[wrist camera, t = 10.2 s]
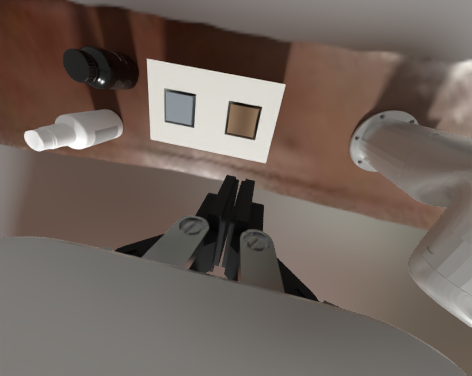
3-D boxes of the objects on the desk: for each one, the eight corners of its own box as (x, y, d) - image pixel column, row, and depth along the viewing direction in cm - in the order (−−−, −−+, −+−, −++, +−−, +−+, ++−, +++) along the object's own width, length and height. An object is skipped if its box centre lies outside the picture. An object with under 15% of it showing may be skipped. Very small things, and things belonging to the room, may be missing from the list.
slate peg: (203, 95, 40) (192, 96, 35) (201, 120, 43) (191, 125, 37) (180, 91, 41) (165, 91, 35) (179, 115, 43) (166, 120, 37)
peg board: (282, 85, 39) (285, 84, 32) (266, 151, 46) (265, 163, 38) (168, 63, 40) (146, 58, 33) (168, 131, 47) (150, 139, 40)
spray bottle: (98, 132, 50) (19, 152, 34) (97, 104, 47) (9, 113, 31) (123, 141, 50) (56, 166, 34) (124, 114, 47) (50, 128, 31)
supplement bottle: (136, 53, 40) (88, 41, 30) (142, 90, 43) (101, 90, 33) (105, 52, 41) (49, 40, 30) (114, 88, 44) (65, 89, 34)
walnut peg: (260, 106, 40) (258, 109, 34) (255, 130, 42) (252, 137, 36) (236, 101, 40) (230, 104, 34) (232, 126, 42) (226, 132, 37)
